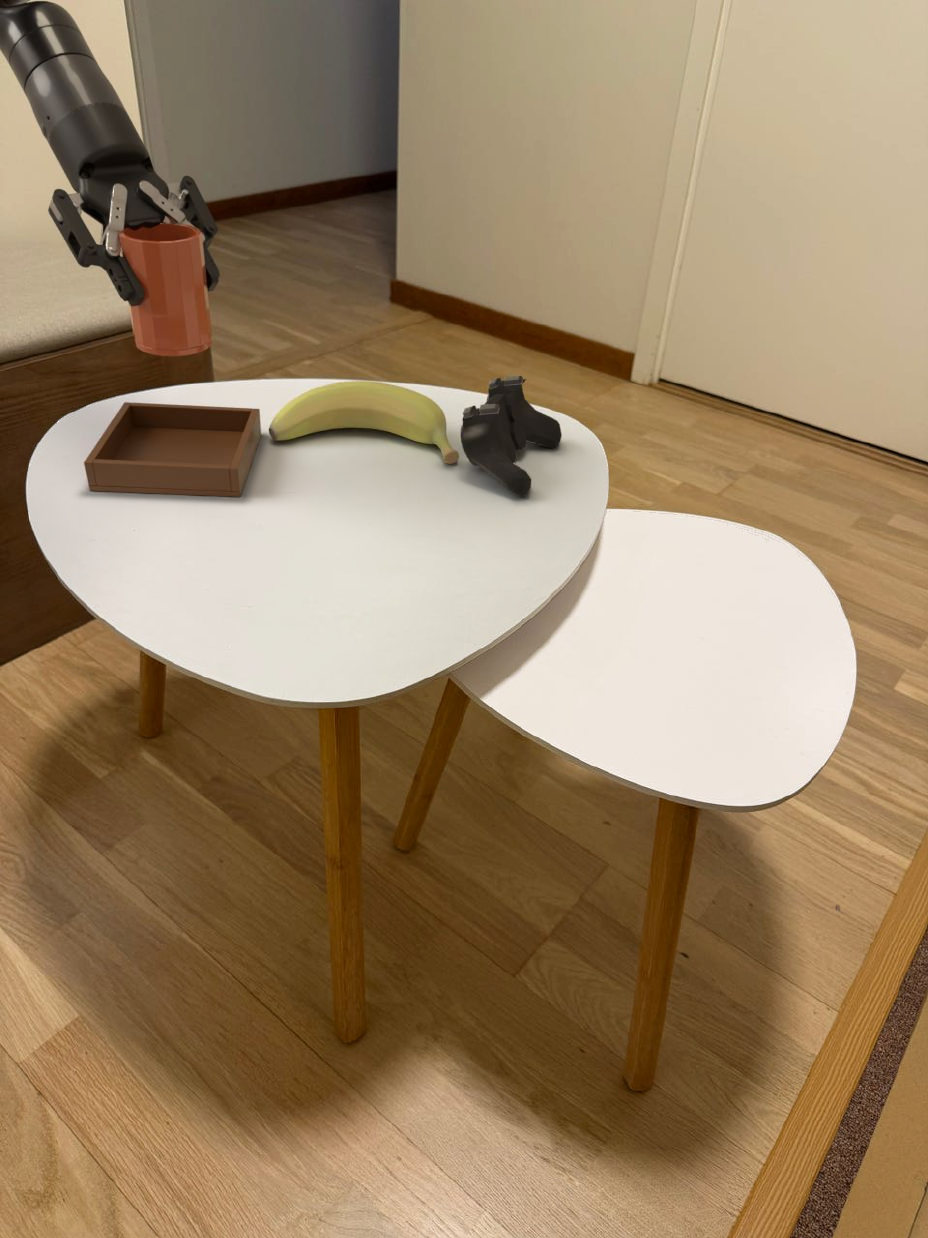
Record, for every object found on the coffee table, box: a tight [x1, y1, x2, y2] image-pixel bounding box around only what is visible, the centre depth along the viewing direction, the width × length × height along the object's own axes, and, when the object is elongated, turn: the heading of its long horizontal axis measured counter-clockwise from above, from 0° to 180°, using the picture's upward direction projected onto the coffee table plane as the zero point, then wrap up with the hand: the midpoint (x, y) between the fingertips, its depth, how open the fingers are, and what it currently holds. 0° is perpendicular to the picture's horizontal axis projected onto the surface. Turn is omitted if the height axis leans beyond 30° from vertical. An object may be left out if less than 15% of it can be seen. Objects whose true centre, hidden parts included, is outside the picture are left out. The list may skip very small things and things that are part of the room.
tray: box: [83, 401, 262, 498], centre depth 93 cm, size 15×15×3 cm
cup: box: [118, 221, 213, 357], centre depth 82 cm, size 7×7×10 cm
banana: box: [268, 380, 460, 465], centre depth 99 cm, size 14×6×20 cm
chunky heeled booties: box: [460, 375, 562, 498], centre depth 97 cm, size 16×7×10 cm, turn 161°
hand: (176, 293), depth 81 cm, fingers closed on cup, 7 cm apart
